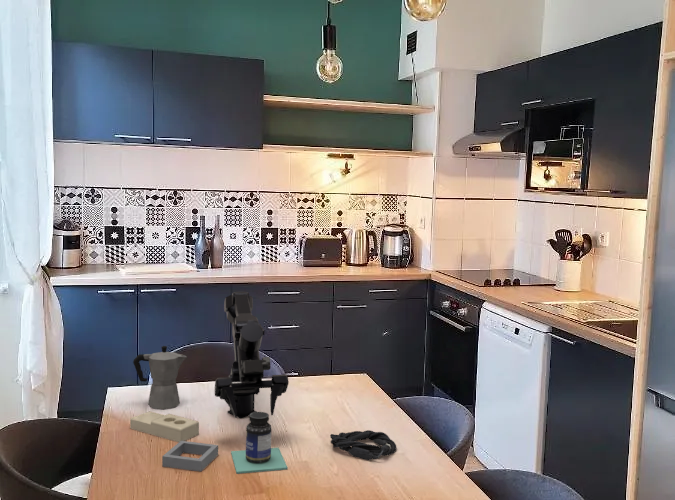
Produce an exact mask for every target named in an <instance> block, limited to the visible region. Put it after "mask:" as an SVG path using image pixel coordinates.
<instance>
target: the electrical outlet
mask: <svg viewBox="0 0 675 500" xmlns="http://www.w3.org/2000/svg"><path fill="white" fill-rule="evenodd" d="M129 421H130V422H129V427H130V430H134V431H137V432H142V433H144V434H146V435H147V434H148V435H151V436H155V437H158V438H162V439H166V440H169V441H173V442H177V443H179V442H180V441H189V440H190V439H192V438H194V437H196V436H199V434H200V422H199V421H198V420H195V419H192V418H188V417H184V416H180V415H176V414H172V413H167V414H166V415H165V414H161V413H158V412H153V411H148V412H144V413H141V414H139V415H137V416H135V417H131V418H130V419H129Z"/></svg>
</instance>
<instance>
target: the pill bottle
mask: <svg viewBox="0 0 675 500" xmlns="http://www.w3.org/2000/svg"><path fill="white" fill-rule="evenodd" d="M248 417H249V419H248V420H249V423H248V424H247V425H246V429H245V431H246V432H245V450H246V460H247V461H249V462H252V463H264V462H267V461H268V460H270V458H271V448H272V429H273V428H272V425H271V423H269V420H270V415H269V413H268V412H265V411H257V412H253V413H251V414H250V415H249V416H248Z"/></svg>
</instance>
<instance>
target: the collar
mask: <svg viewBox="0 0 675 500" xmlns="http://www.w3.org/2000/svg"><path fill="white" fill-rule="evenodd" d="M183 454H190V455H191V454H193V455H198V456H199V455H200V457H199V458H198V457H188V456H182V455H183ZM218 456H219V444H214V443H213V444H212V443H203V442H194V441H189V440H186V441H180V442H177V443H176V444H175V445H174V446H173V447H172V448H171V449H169V450H168V451H167V452H165V454H163V455H162V457H161V459H162V460H161V461H162V462H161V463H162V464H161V466H162V467H164V468H172V469H178V470H179V469H180V470H185V471H195V472H202V471H204V470H205V468H207V467H208V466H209V465H210V464H211V463H212V461H214V460H215V459H216V458H217V457H218Z"/></svg>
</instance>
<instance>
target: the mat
mask: <svg viewBox="0 0 675 500" xmlns="http://www.w3.org/2000/svg"><path fill="white" fill-rule="evenodd" d="M230 454H231V458H232V462H233V466H234V470H235V473H236V474H238V475H239V474H250V473H260V472H262V473H263V472H273V471H283V470H284V471H285V470H287V471H288V468H289V467H288V465H287V463H286V461H285V458H284V456H283V454H282V452H281V449H280V448H279V447H271V458H270V460H268V461H267V462H264V463H252V462H249V461H247V460H246V449H243V450H241V449H240V450H231V451H230Z"/></svg>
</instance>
